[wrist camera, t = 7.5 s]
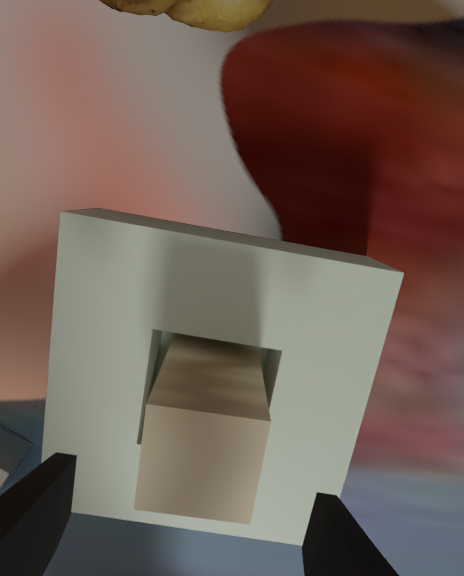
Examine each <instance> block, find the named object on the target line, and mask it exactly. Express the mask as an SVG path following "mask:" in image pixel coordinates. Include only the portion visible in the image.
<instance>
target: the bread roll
mask: <svg viewBox="0 0 464 576" xmlns="http://www.w3.org/2000/svg"><path fill="white" fill-rule="evenodd" d="M100 1H101V2H102V3H104V4H106V5H107V6H109V7H110V8H112V9H115V10H117V11H119V12H128V13H133V14H137V15H153V16H157V15H159V14H162V13H166V14H167V15H169V17H170V18H171V19H172V20H175V21H178V22H181V23H184V24H187V25H189V26H191V27H197V28H202V29H206V30H215V31H222V32H230V31H236V30H241V29H243V28H244V27H245V26H247V25H248V24H250V23H252V22H254V21H256V20H257V19H258V18H260V17H261V16H262V15H263V14H264V13H265V12H266V10H267V9H268V8H269V6H270V5H271V3H272V1H273V0H100Z"/></svg>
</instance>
